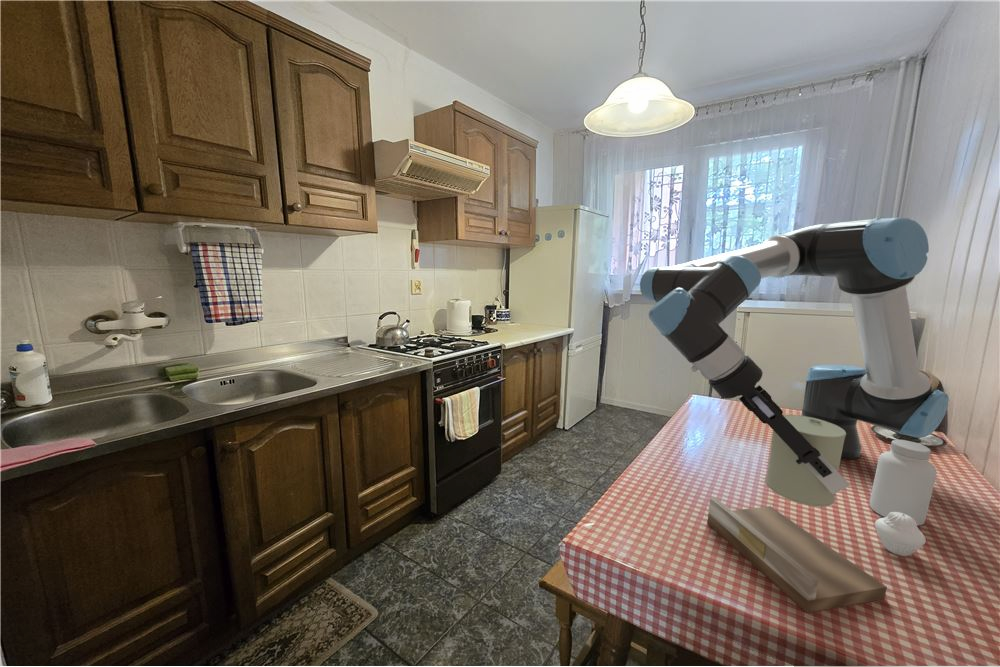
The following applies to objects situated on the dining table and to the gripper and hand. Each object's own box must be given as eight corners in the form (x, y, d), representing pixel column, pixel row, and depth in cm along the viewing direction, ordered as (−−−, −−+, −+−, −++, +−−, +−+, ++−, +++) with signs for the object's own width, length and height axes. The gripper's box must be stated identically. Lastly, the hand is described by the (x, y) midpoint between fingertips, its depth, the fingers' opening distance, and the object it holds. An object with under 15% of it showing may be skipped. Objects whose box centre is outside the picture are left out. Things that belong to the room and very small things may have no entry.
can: (840, 493, 64) (853, 424, 61) (826, 514, 58) (839, 439, 56) (775, 470, 71) (784, 407, 69) (756, 487, 65) (765, 419, 63)
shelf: (769, 515, 77) (772, 491, 76) (884, 598, 58) (890, 567, 57) (706, 522, 74) (709, 498, 74) (804, 613, 55) (810, 581, 54)
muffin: (925, 553, 67) (933, 517, 66) (916, 568, 64) (924, 529, 63) (877, 533, 72) (884, 499, 71) (866, 545, 69) (873, 509, 68)
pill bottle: (916, 532, 73) (932, 458, 70) (861, 508, 80) (874, 440, 77) (932, 520, 76) (947, 449, 74) (878, 498, 83) (891, 433, 81)
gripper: (697, 366, 76) (781, 456, 74) (719, 400, 56) (835, 525, 54) (731, 342, 74) (819, 434, 71) (766, 369, 54) (890, 498, 51)
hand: (826, 473), depth 63 cm, fingers closed on can, 9 cm apart
